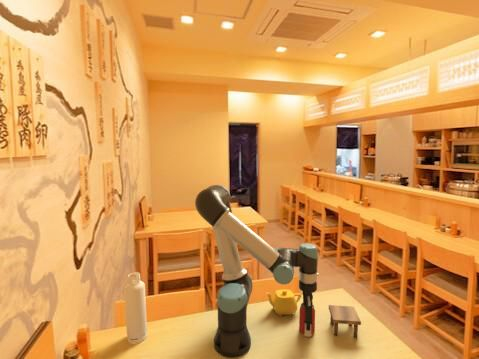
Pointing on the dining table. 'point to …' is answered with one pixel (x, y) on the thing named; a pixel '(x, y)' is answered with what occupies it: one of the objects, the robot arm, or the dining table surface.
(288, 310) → the teapot
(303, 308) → the beer can
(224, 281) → the robot arm
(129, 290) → the bottle
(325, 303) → the dining table surface
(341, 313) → the stool
